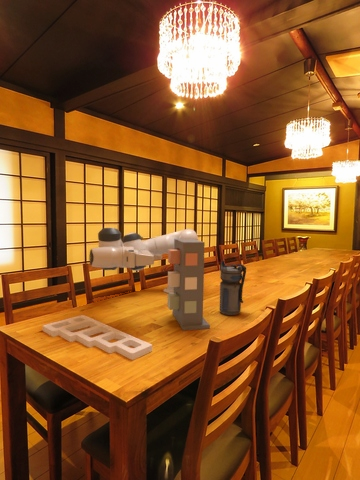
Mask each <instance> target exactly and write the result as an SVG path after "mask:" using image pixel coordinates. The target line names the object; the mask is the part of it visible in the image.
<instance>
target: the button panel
mask: <svg viewBox="0 0 360 480" xmlns="http://www.w3.org/2000/svg"><path fill="white" fill-rule="evenodd" d="M205 244H206V243H205V241H202V240H199V239H198V240H195V239H174V249H180V264H173V272H180V287H174V294H176V293H178V294H179V309H178V310H171V311H172V315H173V317H174V318H175V320H176V322H177V323H178V325H179V326H180V329H182V331H193V330H194V331H195V330H208V329H210V328H211V325H210V324H209V322H208V321H207V320H206V319H205V318H204V281H205V278H204V277H205V274H204V273H205V246H206V245H205Z"/></svg>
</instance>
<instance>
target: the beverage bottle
mask: <svg viewBox="0 0 360 480" xmlns="http://www.w3.org/2000/svg"><path fill="white" fill-rule="evenodd" d="M219 272H220V276H219V277H220V280H221V281H220V285H219V311H220V313H221V314H223V315H226V316H237V315H240V313H241V311H242V310H241V307H242V304H243V303H244V300H243V288H244V284H245V283H244V282H245V279H246V274H247V267H246V266H245V265H244V264H242V263H241V264H239V263H238V264H230V265H225V260H222V261H221V263H220V265H219Z"/></svg>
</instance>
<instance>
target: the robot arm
mask: <svg viewBox="0 0 360 480" xmlns="http://www.w3.org/2000/svg"><path fill="white" fill-rule="evenodd" d="M97 239H98V240H97V241H98V247H93V248H91V249H90V250H89V258H88V261H89V265H90V266H91V268H92V267H93V268H99V269H102V270H103V271H114V270H115V271H116V270H117V269H118V268H122V269H125V268H126V269H127V268H128V269H129V270H132V271H135V272H136V271H137V272H138V271H142V270H143V269H145V268H146V267H147V266H152V265H154V264H155V261H157V260H162V259H163V255H164V254H168V249H174V239H195V240H198V241H199V236H198V233H197V232H196V231H195V230H194V229H193V228H186V229H181V230H178V231H175V232H170V233H167V234H163V235H159V236H155V237H154V236H153V237H151V238H148V239H147V240H142V239H144V237H143V236H141V235H140V233H137V232H129V233H126V234H125V235H124V236H123V237H122V233H121V231H120V230H119V229H118V228H115V227H103V228H102V229H101V230H99V232H98V233H97ZM163 293H167V294H174V287H170V286H169V285H168V284H167V286H166V287H165V288H164V289H163Z"/></svg>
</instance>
